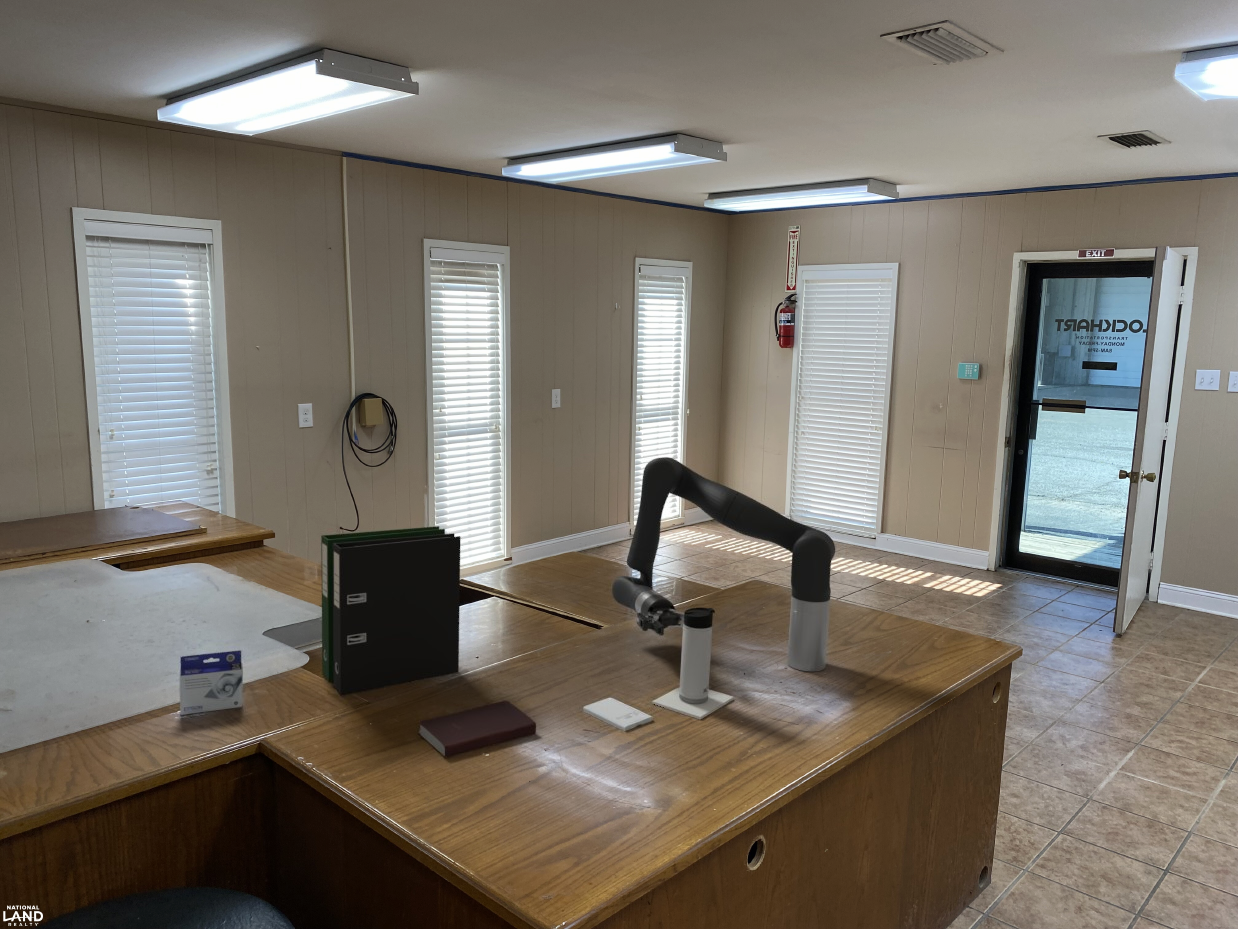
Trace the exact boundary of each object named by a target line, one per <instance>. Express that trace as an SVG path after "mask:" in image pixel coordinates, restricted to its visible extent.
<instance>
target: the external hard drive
mask: <svg viewBox="0 0 1238 929" xmlns="http://www.w3.org/2000/svg"><path fill="white" fill-rule="evenodd" d="M582 712H583V713H585V714H587V713H588V715H589V714H590V716H592V717H594V718H596V719H598V720H600V721H602V722H604V723H606V724H609V725H610V726H612V727H615V728H616V729H619V730H621V731H623V732H626V731H629V730H631V729H634V728H637V727H638V726H641V725H642V726H643V725H644V724H647V723H650V722H653V721H654V720H653V719H654V718H653V716H651V715H650V714H647V713H645V712H643V711H641V710H639V709H636V708H634V707H632V706H630V705H628V704H626V703H623V702H621V701H619V700H618V699H615V698H613V697H608V698H603V699H601V700H599V701H595V702H593V703H590V704H587V705H584V706H583V708H582Z"/></svg>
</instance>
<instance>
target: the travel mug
mask: <svg viewBox="0 0 1238 929" xmlns="http://www.w3.org/2000/svg"><path fill="white" fill-rule="evenodd" d="M684 613H685V614H684V623H683V629H682V641H681V656H680V657H681V658H680V660H681V661H680V676H679V677H680V678H679V687H680V692H679V698H680V699H681V700H682V701H684V702H686V703H691V704H701V703H704V702H706V701H707V700H708V691H709V690H710V672H711V670H710V669H711V657H712V655H711V654H712V640H713V638H712V637H713V621H714V620H713V618H714V614H716V611H715V609H714V608H713V607H709V608H708V607H702V606H701V607H692V608H688V609H686V610H685V611H684Z"/></svg>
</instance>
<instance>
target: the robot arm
mask: <svg viewBox="0 0 1238 929" xmlns="http://www.w3.org/2000/svg"><path fill="white" fill-rule="evenodd" d="M641 483H642V484H641V494H640V501H639V507H638V514H637V518H636V523H635V528H634V531H633V536H632V539H631V543H630V546H629V550H628V554H627V557H626V565H627V567H628V568H630V569H631V570H635V571H637V572H639V577H634V576H628V575H622V576H618V577H617V578H616V579H615V580H614V581H613V583H612V584H611V585H612V586H611V593H612V594H611V595H612V598H613V599H614V600H615V602H617V603H618V604H619V605H621V606H622V607H627V608H629V609H631V610H633V611H634V612H635V613H636V625H637V626H638V627H639V628H640V629H641V630H642V631H643V632H648V630H650V631H651V632H655V634H657V635H659V636H664V634H665V633H664V632H665V629H667V628H668V627H669V628H673V627H674V628H679V629H682V630H683V623H684V614H685V612H681V611H677V609H676V607H675V605H674V604H673V603H672V602H671V600H669V599H668V598H666V597H665V596H664V595H662V594H661V593H659V592H657V591H655V590H654V585H653V574H654V572H653V571H654V564H655V561H656V557H657V552H658V548H659V544H660V538H661V522H662V516H663V511H664V508H665V504H666V502H667V499H668V497H669V495H670V494H671V495H674V496H677V497H680V498H681V499H684V500H686V501H687V502H689V503H692V504H694V505H695V506H697V507H699V509H700V510H702V512H704V513H705V514H706V515H708V516H709V517H710V518H711V519H713V520H715V521H716V523H718V524H720V525H722V526H724V527H726V528H728V529H730V530H732V531H735V532H736V533H737V534H738V533H739V534H740V535H744V536H746V537H750V538H752V539H753V538H754V539H757V540H762V541H765V542H769V543H772V544H775V545H777V546H779V547H782V548H783V549H785V550H787V551H789V552H790V553H791V569H790V570H791V572H790V586H791V596H790V597H791V598H790V613H789V631H788V645H787V661H786V663H787V665H788V666H789V667H790V668H793V669H795V670H799V671H804V672H820V671H823V670H824V669H826V662H827V650H828V649H827V648H828V639H829V638H828V636H829V635H828V634H829V622H830V621H829V620H830V607H831V593H832V590H831V581H830V580H831V570H832V568H831V567H832V560H833V559H834V557H835V554H836V546H835V545H836V544H835V542H834V541H833V539H832V538H831V537H830V536H829V534H827V532H824V531H822V530H820V529H818V528H814V527H812V526H809V525H806V524H804V523H801V522H798V521H795V520H793V519H790V518H789V517H786V516H784V515H783V514H782V513H779V512H778V511H777V510H774V509H773V508H771V507H769V506H767V505H765V504H764V503H761V502H759V501H757V499H754V498H752V497H750V496H748V495H746V494H743V493H742V492H740V491H737V490H735V489H733V488H731V487H729V486H726V485H724V484H722V483H720V482H719V483H718V482H716V481H714V480H711V479H709V478H706V477H705V476H702V475H701V474H699V473H698V472H695V470H692V469H691V468H689V467H687V466H686V465H685V464H683V463H681V461H679V460H677V459H675V458H673V457H667V456H664V457H656V458H653V459H651V460H650V461H648V463H647V464H646V465H645V466H644V468H643V473H642V480H641Z"/></svg>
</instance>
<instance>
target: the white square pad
mask: <svg viewBox="0 0 1238 929" xmlns="http://www.w3.org/2000/svg"><path fill="white" fill-rule="evenodd" d="M679 692H680V686H678V687H677V688H674V689H673V690H671V691H669V692H667V693H666V694H664V695H662V696H660V697H658V698H656V699H654V700H652V702H651V703H652V705H654V704H655V706H657V705H658V707H660V706H661V707H660V708H663V707H664V709H667V710H670V711H672V712H676V713H678V714H682V715H685V716H687V717H691V718H693V719H697V720H702V719H704V718H705V717H708V715H710V714H712V713H713V712H715V711H717V710H718V709H720V708H723V706H725V705H727V704H729V703H730V702H732V701H733V700H734V696H731V695H728V694H726V693H723V692H719V691H717V690H716V691H715V690H712V689H709V691H708V700H707V701H706V702H704V703H701V704H691V703H686V702H684V701H682V700H681V699H680V698H679Z"/></svg>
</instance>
